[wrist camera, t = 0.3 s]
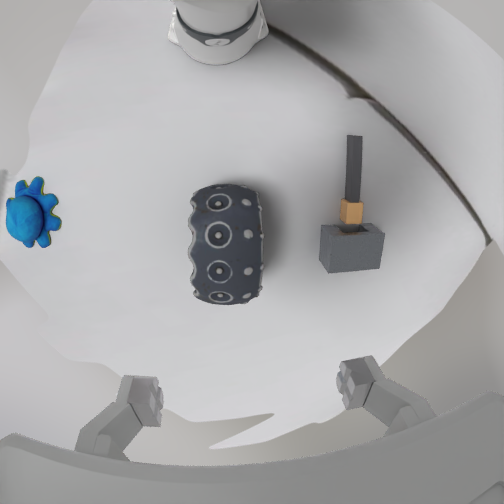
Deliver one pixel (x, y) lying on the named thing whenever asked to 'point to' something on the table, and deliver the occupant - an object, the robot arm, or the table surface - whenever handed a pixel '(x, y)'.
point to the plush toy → (31, 214)
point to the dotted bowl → (226, 244)
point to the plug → (352, 183)
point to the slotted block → (351, 248)
